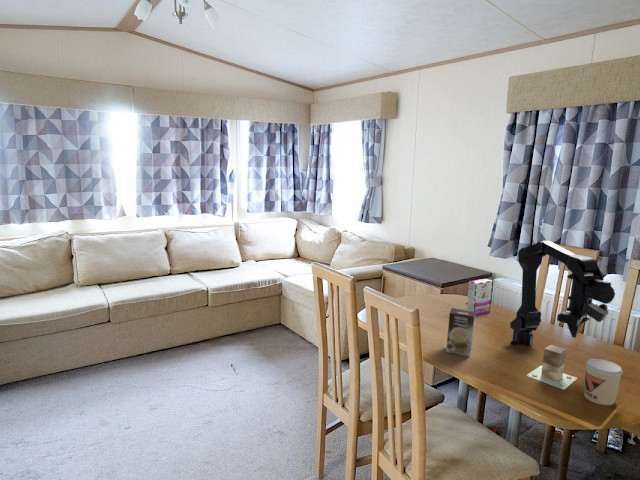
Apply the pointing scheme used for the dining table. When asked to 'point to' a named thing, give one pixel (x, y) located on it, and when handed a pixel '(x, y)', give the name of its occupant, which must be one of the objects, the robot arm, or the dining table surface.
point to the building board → (562, 383)
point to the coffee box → (460, 332)
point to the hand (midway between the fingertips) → (574, 337)
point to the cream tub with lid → (602, 381)
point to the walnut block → (554, 356)
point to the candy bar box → (479, 296)
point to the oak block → (552, 372)
